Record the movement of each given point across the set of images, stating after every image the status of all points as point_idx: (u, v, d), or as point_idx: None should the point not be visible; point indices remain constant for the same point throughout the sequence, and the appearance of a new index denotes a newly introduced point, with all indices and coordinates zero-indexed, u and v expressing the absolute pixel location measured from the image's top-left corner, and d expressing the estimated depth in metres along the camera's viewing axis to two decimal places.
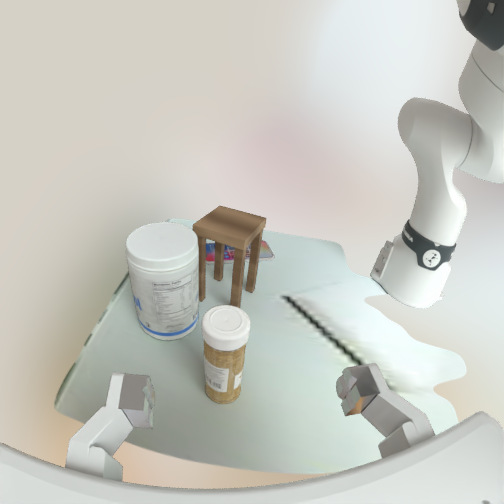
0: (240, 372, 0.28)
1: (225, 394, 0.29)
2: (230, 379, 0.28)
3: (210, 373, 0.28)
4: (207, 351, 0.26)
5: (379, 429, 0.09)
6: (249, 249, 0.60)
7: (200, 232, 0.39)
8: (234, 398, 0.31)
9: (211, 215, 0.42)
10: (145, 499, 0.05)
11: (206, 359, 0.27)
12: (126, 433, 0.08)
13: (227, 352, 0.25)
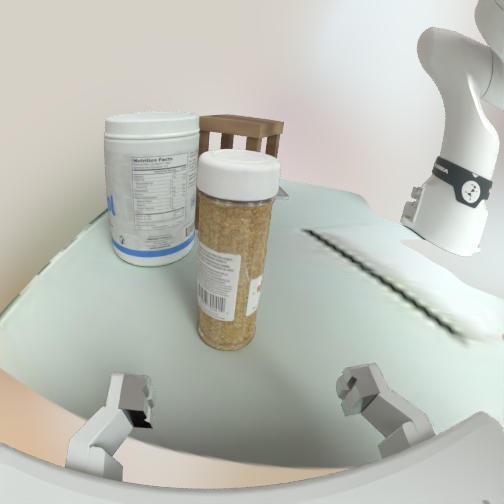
0: (259, 277, 0.17)
1: (232, 326, 0.18)
2: (242, 287, 0.17)
3: (206, 275, 0.17)
4: (204, 219, 0.15)
5: (379, 429, 0.09)
6: None
7: (202, 124, 0.28)
8: (245, 341, 0.20)
9: (216, 115, 0.31)
10: (145, 499, 0.05)
11: (201, 243, 0.16)
12: (126, 434, 0.08)
13: (241, 208, 0.14)
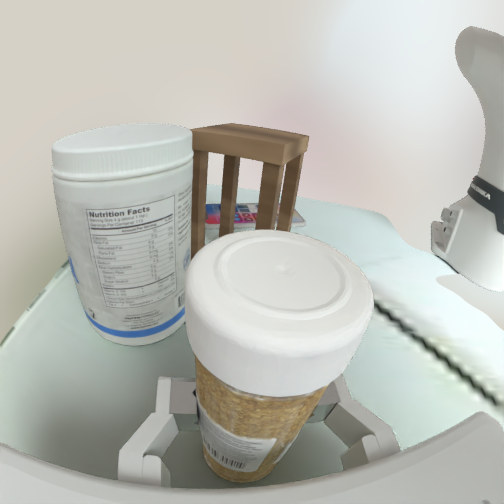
0: (298, 433, 0.09)
1: (252, 472, 0.10)
2: (272, 454, 0.09)
3: (215, 442, 0.08)
4: (206, 391, 0.07)
5: (343, 439, 0.09)
6: None
7: (198, 142, 0.20)
8: (268, 471, 0.12)
9: (218, 126, 0.23)
10: (145, 499, 0.05)
11: (204, 410, 0.08)
12: (172, 438, 0.08)
13: (288, 401, 0.06)
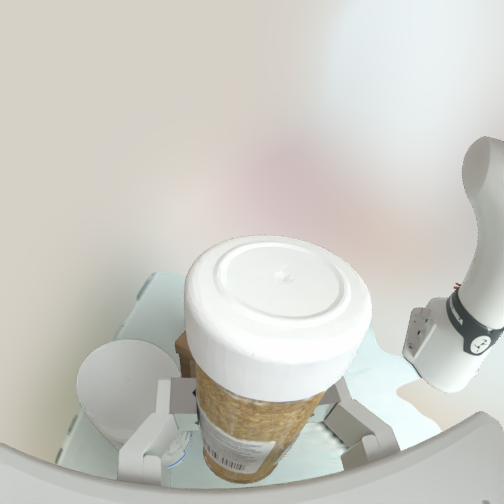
0: (297, 435, 0.09)
1: (252, 474, 0.10)
2: (271, 456, 0.09)
3: (215, 444, 0.09)
4: (206, 394, 0.07)
5: (343, 439, 0.09)
6: None
7: (187, 354, 0.24)
8: (268, 473, 0.12)
9: None
10: (145, 499, 0.05)
11: (204, 413, 0.08)
12: (172, 438, 0.08)
13: (286, 406, 0.06)
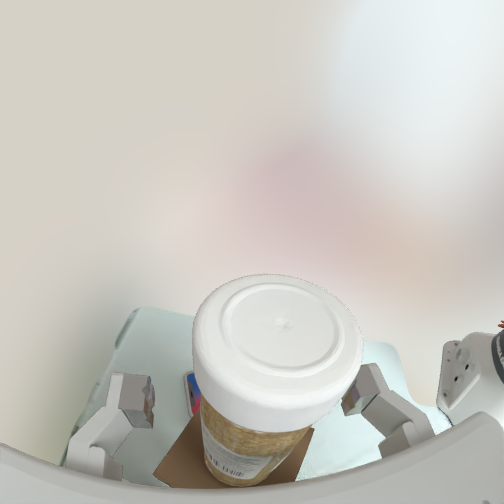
0: (292, 447, 0.10)
1: (250, 479, 0.11)
2: (268, 465, 0.09)
3: (217, 455, 0.09)
4: (211, 418, 0.08)
5: (379, 429, 0.09)
6: None
7: (172, 486, 0.12)
8: (265, 477, 0.12)
9: (192, 435, 0.15)
10: (145, 499, 0.05)
11: (208, 430, 0.08)
12: (126, 433, 0.08)
13: (282, 433, 0.06)
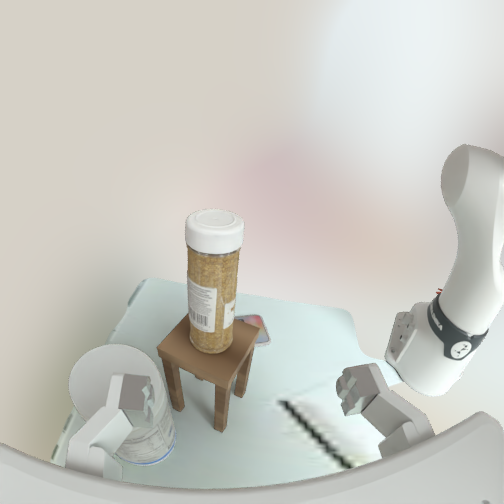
0: (232, 301, 0.24)
1: (213, 336, 0.25)
2: (219, 309, 0.23)
3: (194, 300, 0.23)
4: (190, 263, 0.22)
5: (379, 429, 0.09)
6: None
7: (168, 357, 0.26)
8: (224, 346, 0.26)
9: (183, 326, 0.29)
10: (145, 499, 0.05)
11: (189, 278, 0.23)
12: (126, 433, 0.08)
13: (215, 258, 0.20)
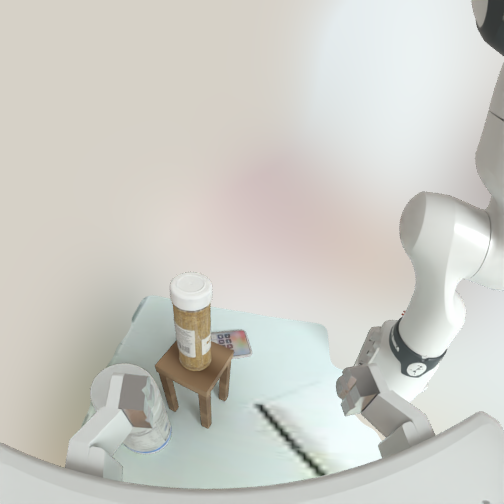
0: (207, 337, 0.32)
1: (195, 359, 0.33)
2: (197, 343, 0.31)
3: (179, 336, 0.31)
4: (175, 313, 0.29)
5: (379, 429, 0.09)
6: (226, 343, 0.55)
7: (163, 373, 0.34)
8: (204, 366, 0.34)
9: (174, 348, 0.37)
10: (145, 499, 0.05)
11: (175, 322, 0.30)
12: (126, 433, 0.08)
13: (191, 313, 0.28)
